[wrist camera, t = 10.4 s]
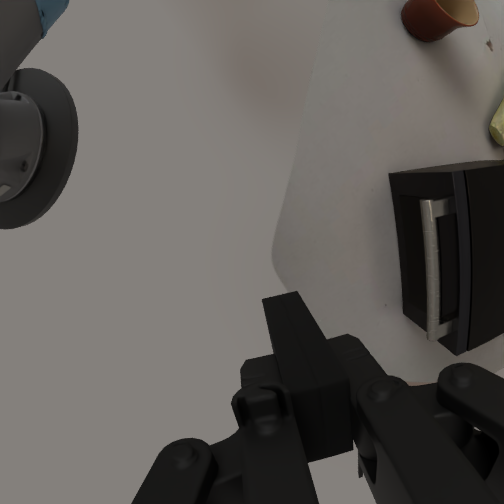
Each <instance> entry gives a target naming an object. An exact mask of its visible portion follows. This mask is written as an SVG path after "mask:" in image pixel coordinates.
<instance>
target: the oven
mask: <svg viewBox="0 0 504 504" xmlns="http://www.w3.org/2000/svg"><path fill="white" fill-rule="evenodd" d="M440 170H463V172H464V179H465V187H466V195H467V205H468V216H469V230H470V254H471V291H470V314H469V328H468V340H467V349H466V350H467V351H470V350H472V349H474V348H476V347H478V346H480V345H482V344H484V343H486V342H488V341H490V340H492V339H494V338H495V337H497V336H499V335H501V334H503V333H504V160H484V161H473V162H465V163H457V164H449V165H442V166H435V167H428V168H421V169H414V170H407V171H401V172H409V171H440Z"/></svg>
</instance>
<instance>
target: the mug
mask: <svg viewBox="0 0 504 504" xmlns="http://www.w3.org/2000/svg"><path fill="white" fill-rule="evenodd" d="M401 17H402V21H403V23H404V25H405V27H406V28H407V29H408V31H409V32H410V33H411V34H412V35H414V36H415V37H416V38H418V39H420V40H422V41H425V42H433V41H438V40H440V39H442V38H444V37H445V36H447V35H448V34H450V33H451V32H453V31H454V30H456V29H457V28H461V27H470V26H474V25H476V24H477V22H478V20H479V12H478V9H477V6H476V4H475V2H474V0H408V1H407V2H406V4H405V5H404V7H403V9H402V11H401Z"/></svg>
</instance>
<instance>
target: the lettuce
mask: <svg viewBox="0 0 504 504" xmlns="http://www.w3.org/2000/svg"><path fill="white" fill-rule="evenodd" d="M489 130H490V133H491V135H492V137H493V138H494V140H495V141H496V142H497V143H498V144H499V145H501V146H504V98H503V100H502V102H501V104H500V105H499V107H498V109H497V111H496V113H495V115H494V116H493V118H492V120H491V123H490V126H489Z"/></svg>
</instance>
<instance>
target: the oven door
mask: <svg viewBox="0 0 504 504" xmlns="http://www.w3.org/2000/svg"><path fill="white" fill-rule="evenodd" d="M389 179H390V185H391V192H392V198H393V205H394V212H395V220H396V228H397V236H398V245H399V256H400V267H401V281H402V298H403V314H404V315H405V316H407V317H408V318H409V319H411V320H412V321H413V322H414V323H416V324H417V325H418V326H419V327H421V328H422V329H423V330H424V331H426V332H427V339H428V340H429V341H436V340H437V341H438V342H439V343H441V344H442V345H443V346H444V347H446V348H447V349H448V350H449V351H450V352H452V353H453V354H454V355H455V356H458V355H460V354H462V353H464V352H466V349H467V340H468V328H469V314H470V291H471V254H470V230H469V216H468V205H467V195H466V187H465V179H464V172H463V170H440V171H409V172H395V173H389Z"/></svg>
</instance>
